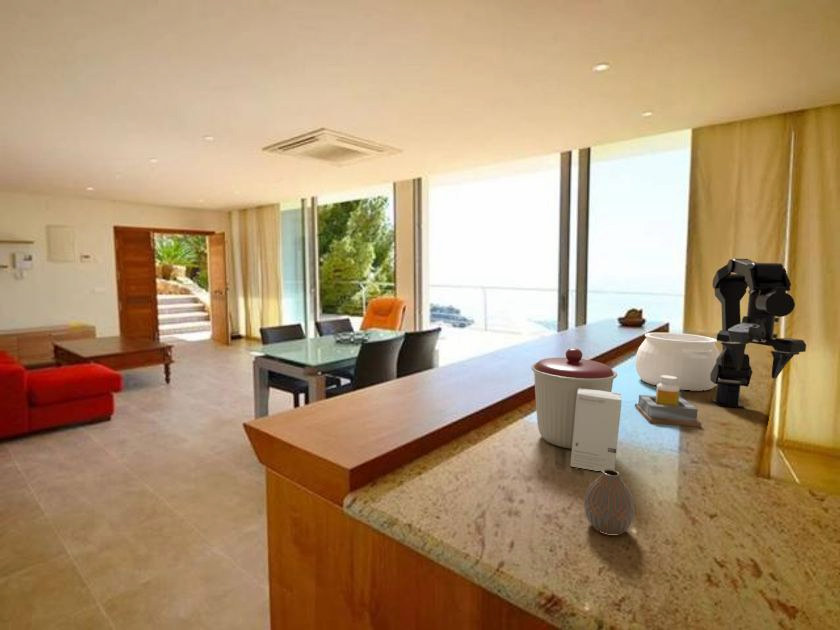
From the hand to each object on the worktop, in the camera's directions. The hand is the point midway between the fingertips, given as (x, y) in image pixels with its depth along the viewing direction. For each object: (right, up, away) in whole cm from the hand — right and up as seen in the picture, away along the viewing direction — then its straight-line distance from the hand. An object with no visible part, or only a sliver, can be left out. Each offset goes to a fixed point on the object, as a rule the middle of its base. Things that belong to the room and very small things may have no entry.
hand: (755, 374), depth 119 cm
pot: (+3, -9, +43) cm, 44 cm away
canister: (-52, -14, -14) cm, 55 cm away
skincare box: (-51, -15, -27) cm, 60 cm away
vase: (-57, -17, -49) cm, 77 cm away
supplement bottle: (-20, -11, +6) cm, 23 cm away
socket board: (-20, -12, +6) cm, 24 cm away
